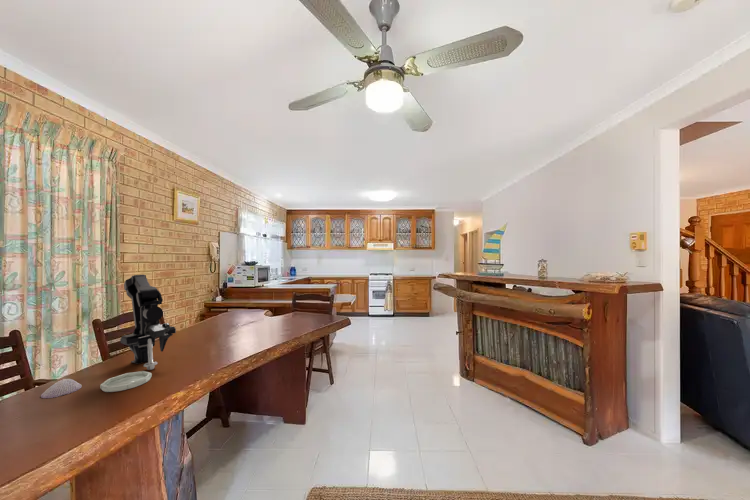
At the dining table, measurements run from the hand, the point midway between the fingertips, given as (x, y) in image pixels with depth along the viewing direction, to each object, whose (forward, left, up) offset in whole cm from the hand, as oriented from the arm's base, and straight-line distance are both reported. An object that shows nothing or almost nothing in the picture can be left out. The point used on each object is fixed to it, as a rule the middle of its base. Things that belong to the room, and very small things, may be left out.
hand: (150, 354), depth 130 cm
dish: (+8, -12, -6) cm, 16 cm away
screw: (0, 0, -6) cm, 6 cm away
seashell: (-7, -26, -7) cm, 27 cm away
